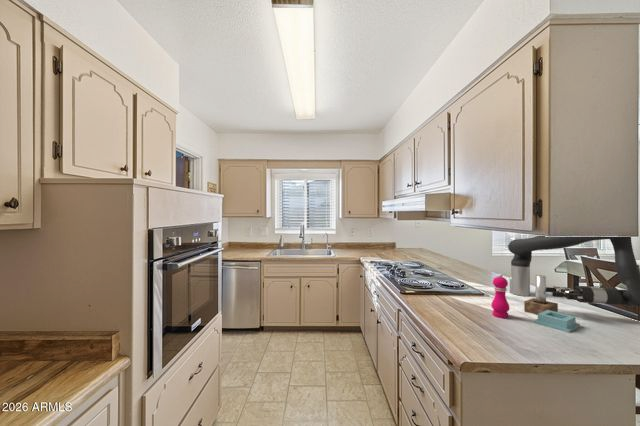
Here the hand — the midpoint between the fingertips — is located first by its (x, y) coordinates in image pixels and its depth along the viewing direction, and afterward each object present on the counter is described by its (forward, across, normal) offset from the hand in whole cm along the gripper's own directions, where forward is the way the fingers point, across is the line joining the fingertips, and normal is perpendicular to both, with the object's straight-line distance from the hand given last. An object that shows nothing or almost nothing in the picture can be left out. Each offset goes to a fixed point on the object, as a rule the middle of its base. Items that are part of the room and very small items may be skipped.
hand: (548, 291), depth 134 cm
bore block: (+3, 0, +10) cm, 11 cm away
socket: (+3, +16, +10) cm, 19 cm away
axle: (+3, 0, +10) cm, 11 cm away
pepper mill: (+23, +12, +11) cm, 28 cm away
